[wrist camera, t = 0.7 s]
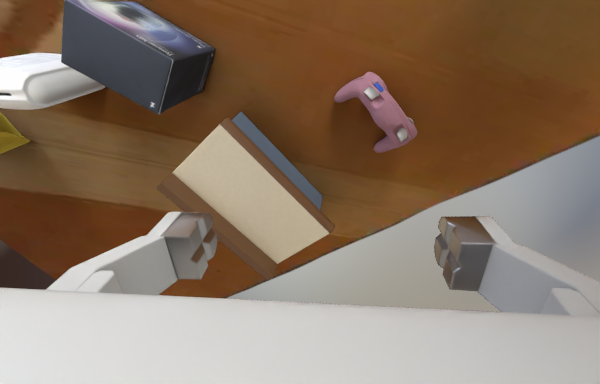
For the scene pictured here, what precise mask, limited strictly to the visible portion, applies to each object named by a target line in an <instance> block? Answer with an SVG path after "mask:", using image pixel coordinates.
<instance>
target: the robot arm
mask: <svg viewBox="0 0 600 384" xmlns="http://www.w3.org/2000/svg"><path fill="white" fill-rule="evenodd" d="M212 225H213V219H212V215H211V214H210V213H197V212H168V213H167V214H166V215H165V216H164V217H163V219H162V220H161V221H160V222H159V223H158V224H157V225H156V226H155V227H154V228H153V229H152V230H151V231H150V232H149V233H148V234H147V235H146V236H141V237H138V238H136V239H134V240H132V241H130V242H127V243H125V244H123V245H121V246H118V247H116V248H114V249H112V250H110V251H107V252H105V253H103V254H101V255H98V256H96V257H94V258H92V259H90V260H87V261H85V262H83V263H81V264H78V265H76V266H74V267H72V268H70V269H69V270H68V271H67V272H66V273H64V274H63V275H62V276H61V277H60V278H59V279H58V280H56V281H55V282H54V283H53V284H52V285H51V286H50V287H48V289H46V290H36V289H14V288H0V384H600V282H598V281H596V280H594V279H592V278H590V277H588V276H586V275H584V274H582V273H580V272H577V271H575V270H573V269H571V268H569V267H567V266H565V265H563V264H560V263H558V262H556V261H554V260H552V259H550V258H548V257H546V256H544V255H541V254H539V253H537V252H535V251H533V250H531V249H529V248H527V247H525V246H522V245H516V244H515V243H514V242H513V240H512V239H511V238H510V237H509V236H508V235H507V234H506V232H505V231H504V230H503V229H502V228H501V227H500V226H499V224H498V223H497V222H496V221H495V220H494V219H493V218H492V217H490V216H473V217H441V219H440V221H439V225H438V228H439V230H440V232H441V234H440V235H439V236H437V237H436V240H435V247H434V249H435V257H436V261H437V263H438V265H439V266H441V267H442V268H443V269H444V271H443V276H444V278H445V280H446V283H447V285H448V287H449V289H452V290H468V291H478V293H479V294H480V295H482V296H483V297H484V298H485V299H486V300H488V301H489V302H490V303H491V304H492V305H494V306H495V307H496V308H497V309H498V310H500V311H501V312H493V311H473V310H451V309H431V308H410V307H389V306H368V305H347V304H327V303H306V302H284V301H265V300H243V299H223V298H203V297H182V296H161V295H159V294H160V293H161V292H163V291H164V290H165V289H167V288H168V287H169V286H171V285H172V284H173V283H174V282H176V281H177V280H178V279H201V278H202V276H203V274H204V273H205V271H206V269H207V267H208V263H207V261H208V260H210V259H211V258H213V256H214V254H215V252H216V247H217V237H216V233H215V232H214V231H213V230H212V229H211V227H212Z"/></svg>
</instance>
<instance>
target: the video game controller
mask: <svg viewBox="0 0 600 384" xmlns="http://www.w3.org/2000/svg"><path fill="white" fill-rule="evenodd" d="M355 97H358V98H359V99H360V100H361V101H362V103H363V104H364V105H365V107H366V108H367V109H368V110H369V111H370V114H371V116H372V118H373V120H374V122H375V123H376V125H378V126H379V127H380V128H381V129H383V130H384V131H385V133H386V134H387V135H388V136H386V137H384V138H383V139H381V140H380V141H378V142H377V143H376V144H375V146H374V151H376V152H379V153H380V152H385V151H388V150H392V149H395V148H398V147H401V146H403V145H405V144H407V143H408V142H410V141H411V140H412V139H413V138H414V137H415V136H416V135H417V130H416V128H415V126H414V122H413V120H412V119H410V118H407V117H406V115H405V114H404V112H403V111H402V109H401V108H400V106H399V105H398V104H397V102H396V101H395V100H394V99H393V97H392V96H391V95H390V94H389V93H388V89H387V87H386V85H385V83H384V82H383V80H382V79H381V78H380V77H379V76H377V75H376V74H375V73H372V72H367V73H366V74H365V75H364V76H362V77H359V78H356V79H354V80H352V81H351V82H349V83H347V84H346V85H345V86H343V87H342V88H341V89H340V90H339V91H338V92H337V93H336V95H335V98H334V100H335V102H344V101H346V100H349V99H352V98H355Z"/></svg>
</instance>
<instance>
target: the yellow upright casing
mask: <svg viewBox="0 0 600 384" xmlns="http://www.w3.org/2000/svg"><path fill="white" fill-rule="evenodd" d="M32 141H33V140H32ZM28 142H31V141H30V140H28V139H26V138H25V137H23V136H22V135H21V134H20V133H19V132H18V131H17V130H16V128H15V127H14V126H13V125H12V124H11V123H10V122H9V121H8V120H7V119H6V117H5V116H4V115H3V114H2V113H1V112H0V154H2V153H5V152H7V151H9V150H12V149H14V148H16V147H19V146H21V145H23V144H26V143H28Z"/></svg>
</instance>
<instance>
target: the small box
mask: <svg viewBox="0 0 600 384" xmlns="http://www.w3.org/2000/svg"><path fill="white" fill-rule="evenodd" d="M214 53H215V48H213V47H212V46H210V45H208V44H207V43H205V42H203V41H201V40H200V39H198V38H196V37H195V36H193V35H191V34H190V33H188V32H186V31H185V30H183V29H181V28H179V27H178V26H176V25H174V24H173V23H171V22H169V21H168V20H166V19H164V18H163V17H161V16H159V15H157V14H156V13H154V12H152V11H151V10H149V9H147V8H146V7H144V6H142V5H141V4H139V3H137V2H119V1H95V0H65V3H64V15H63V35H62V54H61V62H62V63H63V64H65V65H67V66H69V67H71V68H72V69H74V70H76V71H78V72H80V73H82V74H84V75H85V76H87V77H89V78H91V79H93V80H95V81H97V82H98V83H100V84H102V85H104V86H106V87H108V88H110V89H111V90H113V91H115V92H117V93H119V94H121V95H123V96H124V97H126V98H128V99H130V100H132V101H134V102H136V103H137V104H139V105H141V106H143V107H145V108H147V109H149V110H150V111H152V112H154V113H156V114H161V113H162V112H164V111H165V110H167V109H169V108H171V107H173V106H175V105H177V104H179V103H181V102H182V101H185V100H186V99H188V98H190V97H192V96H194V95H196V94H199V93H201V92H203V89H204V84H205V81H206V78H207V75H208V72H209V69H210V66H211V64H212V61H213V57H214Z"/></svg>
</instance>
